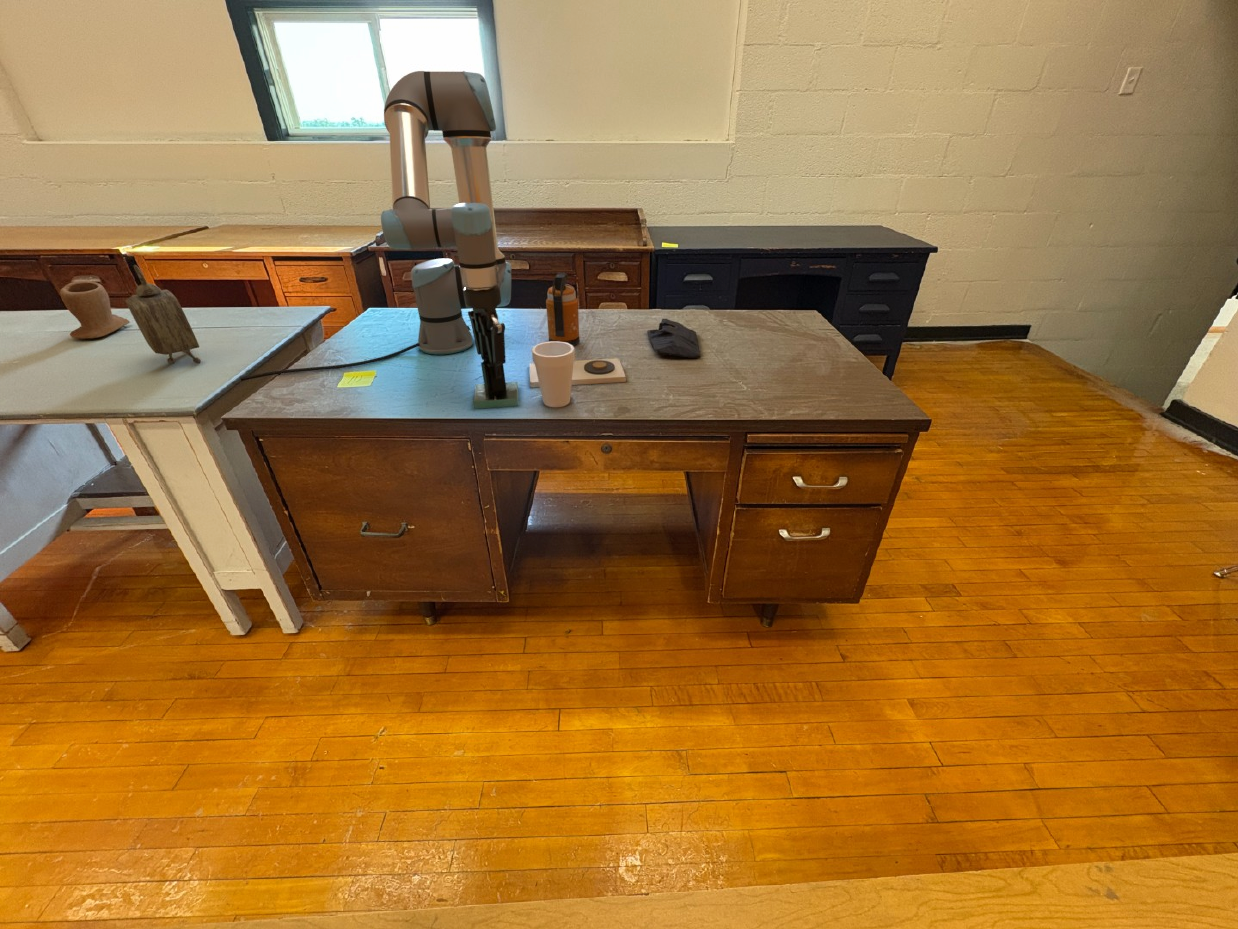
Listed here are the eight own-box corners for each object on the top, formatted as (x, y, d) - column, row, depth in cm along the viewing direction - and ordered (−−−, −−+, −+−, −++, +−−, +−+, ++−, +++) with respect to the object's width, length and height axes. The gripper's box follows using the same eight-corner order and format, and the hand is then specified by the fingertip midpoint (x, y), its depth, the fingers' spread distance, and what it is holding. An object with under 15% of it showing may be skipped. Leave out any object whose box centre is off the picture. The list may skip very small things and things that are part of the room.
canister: (581, 338, 158) (579, 270, 146) (575, 352, 149) (572, 280, 137) (552, 337, 158) (547, 269, 147) (544, 350, 149) (539, 279, 138)
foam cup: (544, 413, 118) (540, 359, 111) (531, 397, 125) (525, 345, 118) (582, 404, 122) (580, 352, 114) (567, 389, 129) (564, 338, 121)
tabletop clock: (208, 363, 140) (162, 267, 126) (167, 373, 135) (115, 274, 121) (193, 349, 149) (149, 257, 135) (154, 358, 143) (104, 263, 129)
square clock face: (474, 409, 120) (472, 400, 119) (477, 391, 127) (475, 383, 126) (518, 406, 121) (517, 397, 120) (518, 389, 128) (517, 381, 127)
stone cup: (107, 341, 153) (77, 290, 145) (66, 341, 153) (34, 289, 145) (145, 324, 166) (120, 275, 157) (107, 324, 166) (80, 275, 157)
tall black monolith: (488, 395, 121) (484, 364, 117) (485, 392, 122) (480, 361, 118) (506, 389, 124) (502, 359, 119) (502, 387, 125) (498, 356, 120)
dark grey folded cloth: (647, 359, 145) (648, 342, 142) (647, 331, 163) (647, 316, 160) (702, 360, 144) (704, 343, 142) (696, 332, 162) (697, 317, 160)
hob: (530, 387, 129) (529, 378, 128) (530, 368, 139) (529, 359, 138) (625, 381, 132) (625, 372, 131) (618, 363, 142) (618, 354, 141)
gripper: (514, 290, 106) (525, 394, 120) (481, 275, 116) (495, 373, 129) (480, 297, 103) (495, 403, 116) (449, 281, 112) (466, 381, 125)
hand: (495, 387), depth 122 cm, fingers closed on tall black monolith, 2 cm apart
